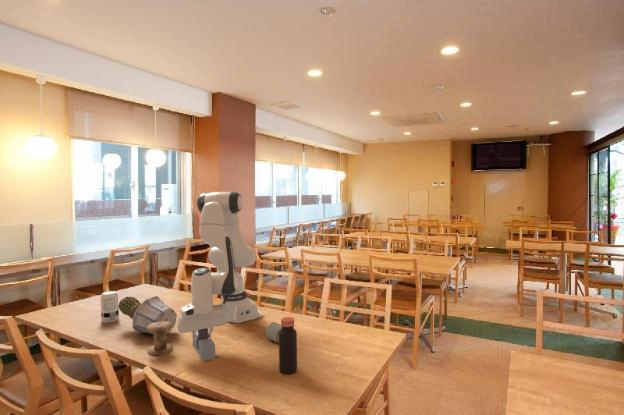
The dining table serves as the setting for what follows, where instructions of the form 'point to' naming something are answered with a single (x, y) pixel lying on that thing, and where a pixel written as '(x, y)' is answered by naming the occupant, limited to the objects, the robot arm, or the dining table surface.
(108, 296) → the supplement can
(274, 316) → the dining table surface
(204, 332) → the dark gray rectangular block
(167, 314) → the potted plant
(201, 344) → the gray stepped block
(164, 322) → the wooden door knob
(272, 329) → the ceramic mug
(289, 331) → the bottle
